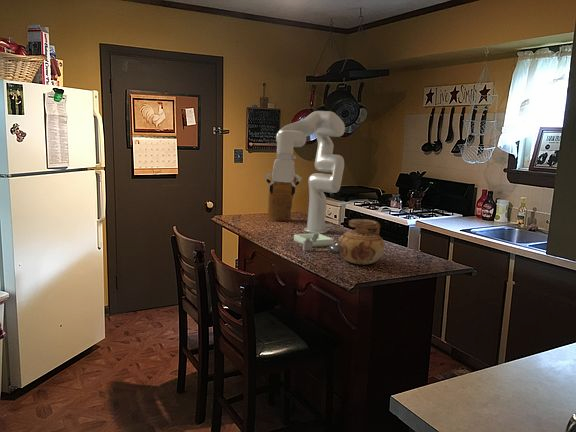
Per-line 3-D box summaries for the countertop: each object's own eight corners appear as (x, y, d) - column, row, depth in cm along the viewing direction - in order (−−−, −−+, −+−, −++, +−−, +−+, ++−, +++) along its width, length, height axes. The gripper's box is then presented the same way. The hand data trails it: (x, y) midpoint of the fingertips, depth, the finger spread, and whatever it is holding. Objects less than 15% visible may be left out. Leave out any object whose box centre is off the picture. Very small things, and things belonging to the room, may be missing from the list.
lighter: (304, 250, 218) (305, 233, 216) (302, 249, 219) (303, 232, 218) (318, 250, 221) (319, 232, 219) (316, 249, 222) (317, 232, 221)
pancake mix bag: (296, 221, 290) (299, 174, 285) (268, 222, 281) (271, 174, 276) (291, 219, 296) (294, 173, 291) (263, 220, 286) (266, 173, 282)
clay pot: (355, 263, 189) (349, 214, 193) (333, 269, 206) (327, 223, 210) (395, 260, 197) (388, 213, 201) (371, 266, 214) (364, 222, 217)
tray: (318, 238, 244) (318, 233, 244) (333, 245, 232) (333, 239, 232) (293, 240, 237) (294, 234, 237) (308, 247, 225) (308, 240, 225)
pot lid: (339, 248, 225) (340, 241, 225) (349, 253, 219) (350, 245, 218) (325, 249, 222) (326, 242, 221) (335, 254, 215) (335, 246, 214)
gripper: (303, 158, 225) (301, 194, 228) (266, 155, 226) (264, 192, 229) (302, 159, 218) (300, 196, 220) (264, 156, 219) (262, 193, 221)
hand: (282, 194), depth 224 cm, fingers open, 9 cm apart
